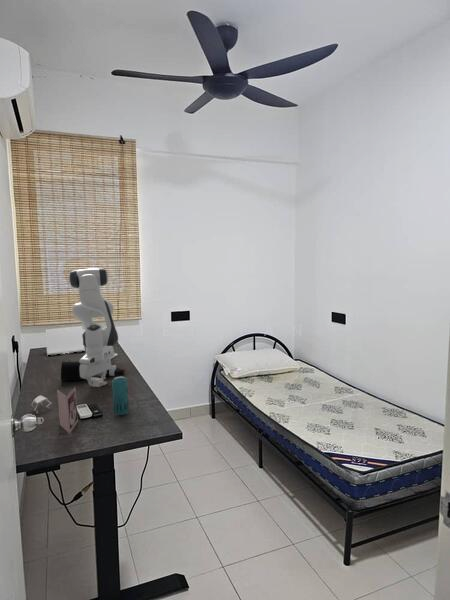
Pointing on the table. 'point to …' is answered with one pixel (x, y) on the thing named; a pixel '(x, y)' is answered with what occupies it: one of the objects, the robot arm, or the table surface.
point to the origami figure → (40, 399)
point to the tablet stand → (64, 340)
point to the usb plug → (98, 382)
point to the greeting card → (68, 410)
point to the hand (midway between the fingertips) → (97, 381)
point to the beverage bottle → (120, 393)
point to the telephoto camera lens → (73, 371)
